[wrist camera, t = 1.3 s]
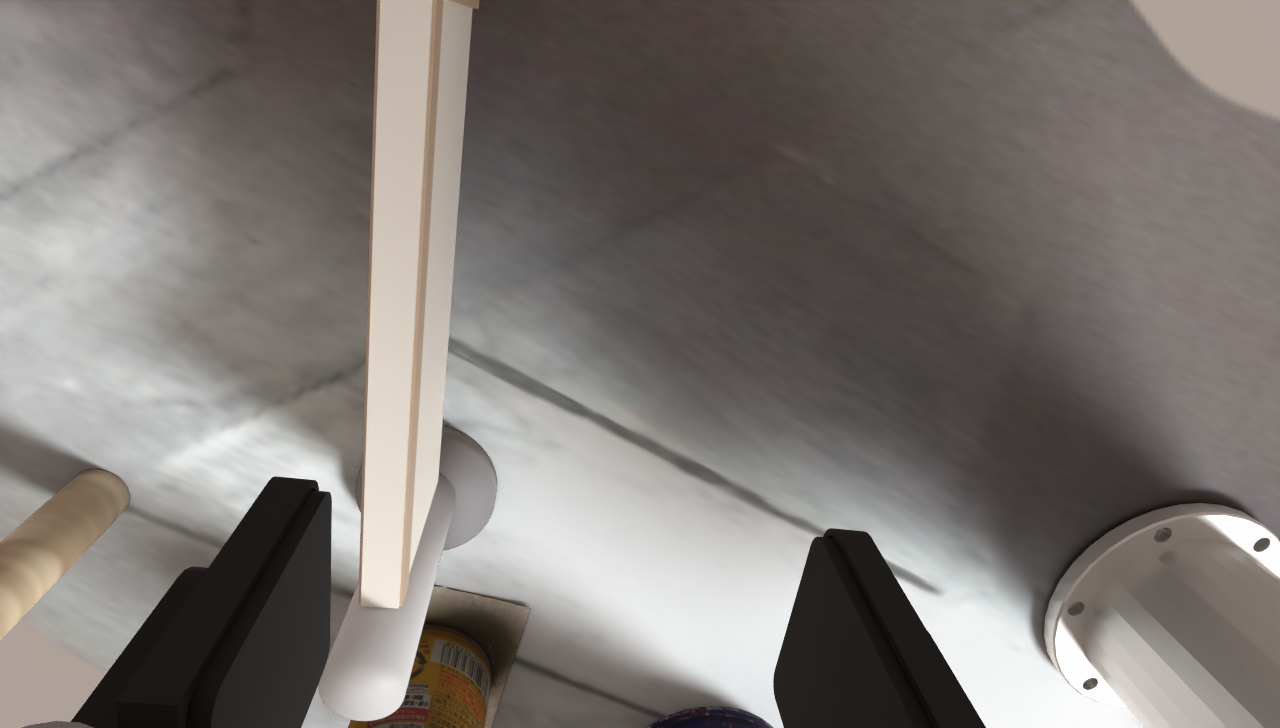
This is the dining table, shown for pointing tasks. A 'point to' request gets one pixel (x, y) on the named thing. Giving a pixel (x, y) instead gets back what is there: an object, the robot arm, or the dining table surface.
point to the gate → (405, 349)
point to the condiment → (459, 663)
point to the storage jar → (711, 719)
